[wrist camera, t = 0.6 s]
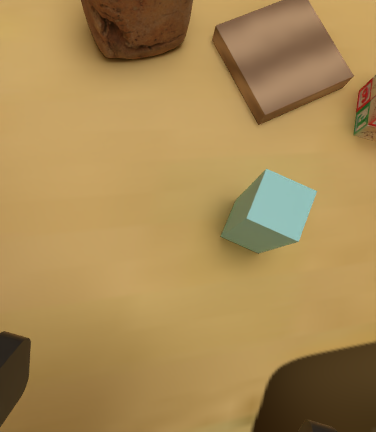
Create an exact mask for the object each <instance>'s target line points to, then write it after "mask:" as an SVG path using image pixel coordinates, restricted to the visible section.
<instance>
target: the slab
mask: <svg viewBox="0 0 376 432" xmlns="http://www.w3.org/2000/svg"><path fill="white" fill-rule="evenodd" d="M212 41H213V43H214V45H215V46H216V48H217V50H218V52H219V54H220V56H221V57H222V59H223V61H224V63H225V65H226V66H227V68H228V70H229V72H230V74H231V76H232V77H233V79H234V81H235V83H236V85H237V87H238V88H239V90H240V92H241V94H242V96H243V97H244V99H245V101H246V103H247V105H248V107H249V108H250V110H251V112H252V114H253V116H254V117H255V119H256V121H257V123H258V125H260V124H262V123H264V122H266V121H269V120H271V119H273V118H275V117H278V116H280V115H282V114H284V113H287V112H289V111H291V110H293V109H296V108H298V107H300V106H303V105H305V104H307V103H309V102H312V101H314V100H316V99H318V98H321V97H323V96H325V95H327V94H330V93H332V92H334V91H336V90H339V89H341V88H343V87H344V86H345V85H346V84H347V83H348V82H349V80H350V79H351V78H352V77H353V74H352V72H351V71H350V69H349V67H348V66H347V64H346V62H345V61H344V59H343V57H342V56H341V54H340V52H339V51H338V49H337V47H336V46H335V44H334V42H333V41H332V39H331V37H330V36H329V34H328V32H327V31H326V29H325V27H324V26H323V24H322V22H321V21H320V19H319V17H318V16H317V14H316V12H315V11H314V9H313V7H312V6H311V4H310V2H309V1H308V0H282V1H279V2H277V3H274V4H272V5H269V6H266V7H264V8H261V9H258V10H256V11H253V12H251V13H248V14H245V15H243V16H240V17H237V18H235V19H232V20H230V21H227V22H224V23H222V24H219V25H216V27H215V31H214V35H213V39H212Z"/></svg>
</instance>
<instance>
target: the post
mask: <svg viewBox="0 0 376 432" xmlns="http://www.w3.org/2000/svg"><path fill="white" fill-rule="evenodd" d="M316 192H317V191H315V190H313V189H311V188H308V187H306V186H304V185H302V184H299V183H297V182H295V181H293V180H290V179H288V178H286V177H284V176H282V175H279V174H277V173H275V172H273V171H270V170H268V169H266V170H265V171H264V172H263V173H262V174H261V175H260V176H259V177H258V178H257V179H256V180H255V181H254V182H253V183H252V184H251V185H250V186H249V187H248V188H247V189H246V190H245V191H244V192H243V193H242V194H241V195H240V196H239V197H238V198H237V199H236V201H235V203H234V206H233V208H232V210H231V213H230V215H229V218H228V220H227V222H226V225H225V227H224V230H223V232H222V234H221V237H223V238H225V239H227V240H229V241H232V242H234V243H236V244H238V245H240V246H243V247H245V248H247V249H249V250H252V251H254V252H256V253H261V252H265V251H268V250H272V249H275V248H279V247H282V246H285V245H289V244H292V243H296V242H299V239H300V236H301V234H302V231H303V228H304V225H305V223H306V220H307V217H308V214H309V212H310V209H311V206H312V203H313V201H314V198H315V195H316Z"/></svg>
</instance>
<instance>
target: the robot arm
mask: <svg viewBox="0 0 376 432" xmlns="http://www.w3.org/2000/svg"><path fill="white" fill-rule="evenodd" d="M30 346H31V341H30V339H29V338H26V337H22V336H19V335H15V334H12V333H9V332H5V331H4V332H1V333H0V427H1V425H2V424H3V422H4V421H5V419H6V418H7V416H8V415H9V414H10V412H11V411H12V409H13V408H14V406H15V405H16V403H17V402H18V400H19V399H20V397H21V396H22V394H23V392H24V390H25V387H26V384H27V381H28V377H29V363H30ZM298 432H337V431H336V430H335V428H334V427H331V426H327V425H324V424H320V423H317V422H313V421H310V420H305V421H304V422H303V423H302V425H301V427H300V429H299V431H298Z"/></svg>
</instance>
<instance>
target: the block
mask: <svg viewBox="0 0 376 432" xmlns="http://www.w3.org/2000/svg"><path fill="white" fill-rule="evenodd" d="M81 2H82V6H83V9H84V13H85V16H86V19H87V22H88V25H89V28H90V30H91V33H92V35H93V38H94V40H95V42H96V44H97V46H98V47H99V49H100V51H101V52H102V53H103V55H104V56H106V57H108V58H116V57H117V58H127V59H137V58H142V57H149V56H155V55H159V54H162V53H165V52H167V51H169V50H171V49H173V48H176V47H177V46H179V45H180V44H181V43H182V42H183V41H184V38H185V36H186V32H187V29H188V25H189V20H190V16H191V9H192V3H193V0H81Z"/></svg>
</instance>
